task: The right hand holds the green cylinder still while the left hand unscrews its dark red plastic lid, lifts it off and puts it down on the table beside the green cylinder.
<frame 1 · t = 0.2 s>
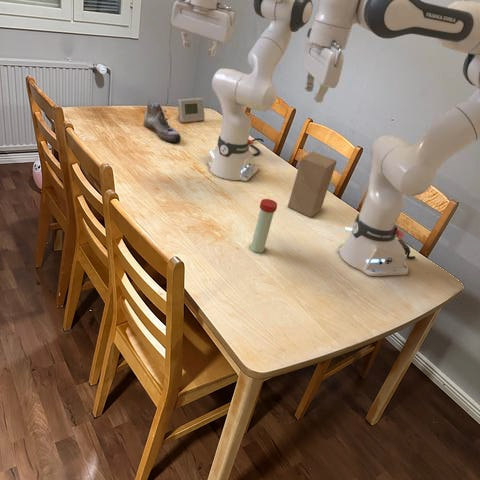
left hand: (198, 51, 131), 48 cm above the table, tool pointing down, fingers open, 8 cm apart
right hand: (312, 95, 111), 48 cm above the table, tool pointing down, fingers open, 8 cm apart
lid: (268, 203, 128), point 16 cm above the table, screwed on, not yet turned
digital clock: (189, 120, 224), on the table
shoe: (162, 133, 201), on the table
green cylinder: (257, 248, 136), on the table
wooden block: (304, 208, 166), on the table
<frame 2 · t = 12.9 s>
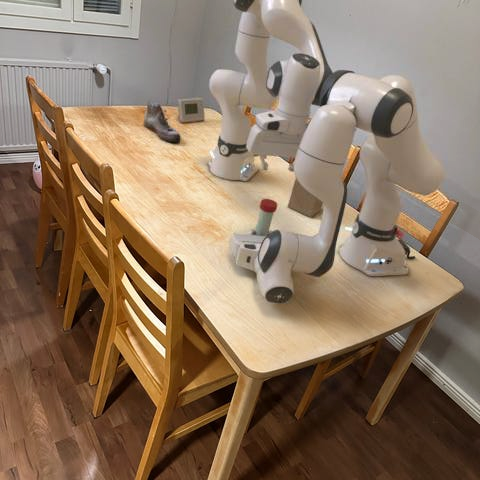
left hand: (277, 170, 122), 27 cm above the table, tool pointing down, fingers open, 7 cm apart
right hand: (260, 232, 134), 6 cm above the table, tool horizontal, fingers closed on green cylinder, 4 cm apart
green cylinder: (257, 248, 136), on the table, touching right hand
everything else where it was.
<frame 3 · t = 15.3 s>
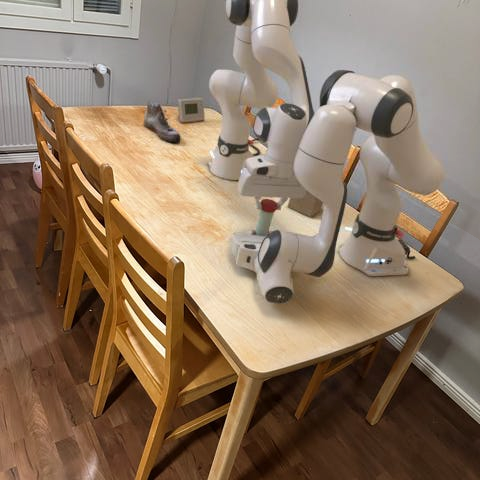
left hand: (267, 208, 129), 14 cm above the table, tool pointing down, fingers closed on lid, 5 cm apart
right hand: (260, 232, 134), 6 cm above the table, tool horizontal, fingers closed on green cylinder, 4 cm apart
lid: (268, 203, 128), point 16 cm above the table, screwed on, not yet turned, touching left hand
green cylinder: (257, 248, 136), on the table, touching right hand
everything else where it was.
when the left hand's fingers open (14 cm above the table, at t = 16.4 s): lid stays where it is, point 16 cm above the table.
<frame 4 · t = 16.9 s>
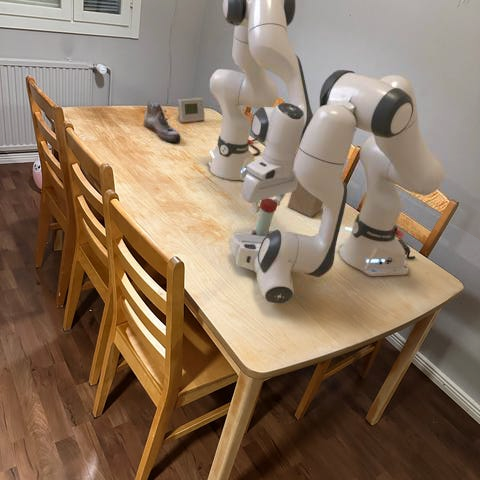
left hand: (265, 208, 128), 14 cm above the table, tool pointing down, fingers open, 7 cm apart
right hand: (260, 232, 134), 6 cm above the table, tool horizontal, fingers closed on green cylinder, 4 cm apart
lid: (269, 203, 128), point 16 cm above the table, turned 54° so far, risen 0.2 cm, still on its thread
green cylinder: (257, 248, 136), on the table, touching right hand
everything else where it was.
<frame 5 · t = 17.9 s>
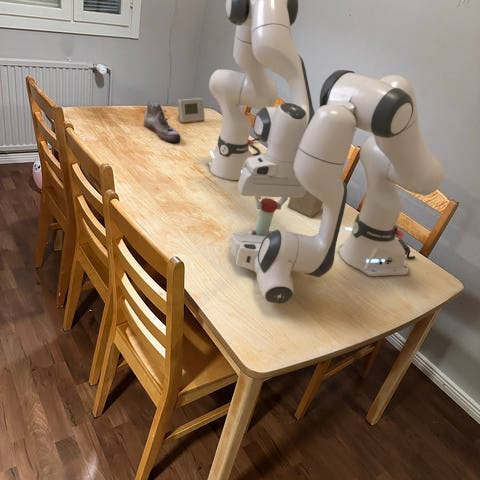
left hand: (267, 208, 128), 14 cm above the table, tool pointing down, fingers closed on lid, 5 cm apart
right hand: (260, 232, 134), 6 cm above the table, tool horizontal, fingers closed on green cylinder, 4 cm apart
lid: (269, 203, 128), point 16 cm above the table, turned 54° so far, risen 0.2 cm, still on its thread, touching left hand
green cylinder: (257, 248, 136), on the table, touching right hand
everything else where it was.
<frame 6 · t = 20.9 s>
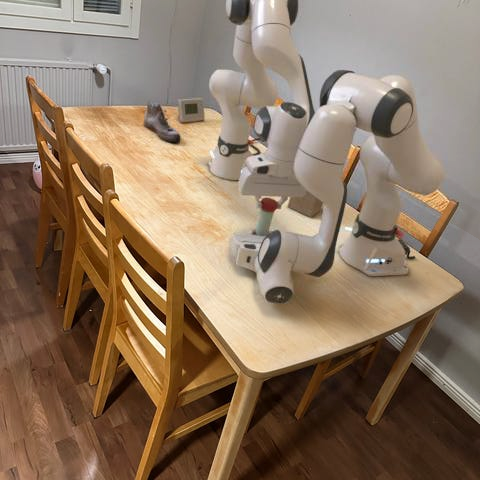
left hand: (267, 207, 128), 15 cm above the table, tool pointing down, fingers closed on lid, 5 cm apart
right hand: (260, 231, 134), 6 cm above the table, tool horizontal, fingers closed on green cylinder, 4 cm apart
lid: (269, 202, 127), point 16 cm above the table, turned 108° so far, risen 0.4 cm, still on its thread, touching left hand
green cylinder: (257, 248, 136), on the table, touching right hand
everything else where it was.
when the left hand's fingers open (2 cm above the table, at t = 27.3 s): lid drops 2 cm, point 2 cm above the table.
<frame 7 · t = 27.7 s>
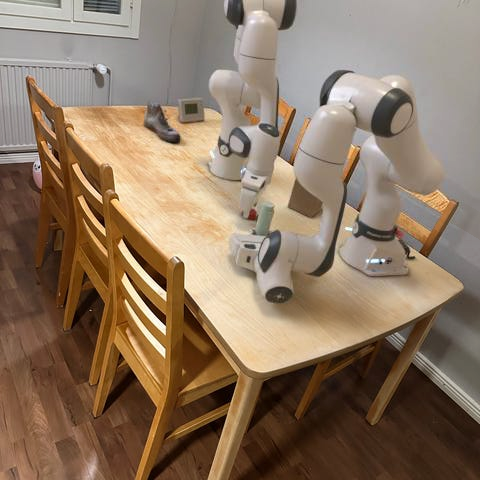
left hand: (249, 211, 151), 2 cm above the table, tool pointing down, fingers open, 8 cm apart
right hand: (260, 231, 134), 6 cm above the table, tool horizontal, fingers closed on green cylinder, 4 cm apart
lid: (249, 212, 152), point 2 cm above the table, off its thread
green cylinder: (257, 248, 136), on the table, touching right hand
everything else where it was.
when the right hand's fingers open (6 cm above the table, at t = 28.3 s): green cylinder stays where it is, on the table.
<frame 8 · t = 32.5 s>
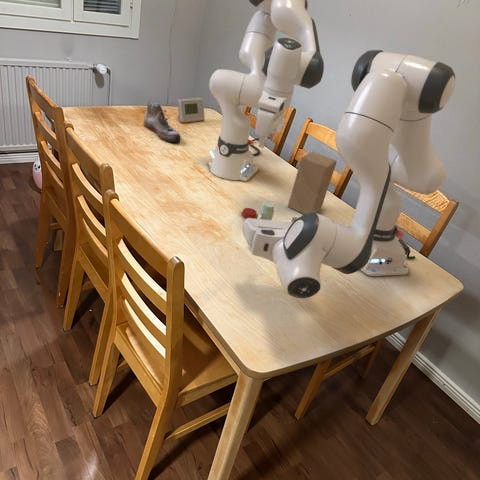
left hand: (265, 142, 138), 27 cm above the table, tool pointing down, fingers open, 8 cm apart
right hand: (277, 217, 117), 18 cm above the table, tool horizontal, fingers open, 8 cm apart
green cylinder: (257, 248, 136), on the table
everything else where it was.
at the end: lid came off its thread; lid point 1.6 cm above the table; the left hand is holding nothing; the right hand is holding nothing; green cylinder tilted 0°; green cylinder moved 0.1 cm from its start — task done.
